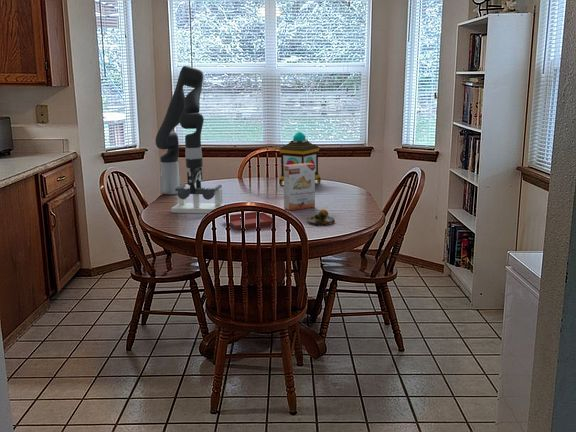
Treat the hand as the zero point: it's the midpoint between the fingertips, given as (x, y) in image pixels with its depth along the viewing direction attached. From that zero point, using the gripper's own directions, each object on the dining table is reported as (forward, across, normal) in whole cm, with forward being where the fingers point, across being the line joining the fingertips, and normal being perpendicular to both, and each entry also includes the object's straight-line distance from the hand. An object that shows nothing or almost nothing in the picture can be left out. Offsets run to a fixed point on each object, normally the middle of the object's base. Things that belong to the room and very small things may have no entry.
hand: (195, 191), depth 274 cm
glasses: (+3, -4, 0) cm, 5 cm away
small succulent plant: (+10, +15, +60) cm, 63 cm away
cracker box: (+10, -11, +47) cm, 49 cm away
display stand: (+9, -2, 0) cm, 10 cm away
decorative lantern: (+10, -71, +38) cm, 81 cm away
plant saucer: (+10, +21, +30) cm, 38 cm away
